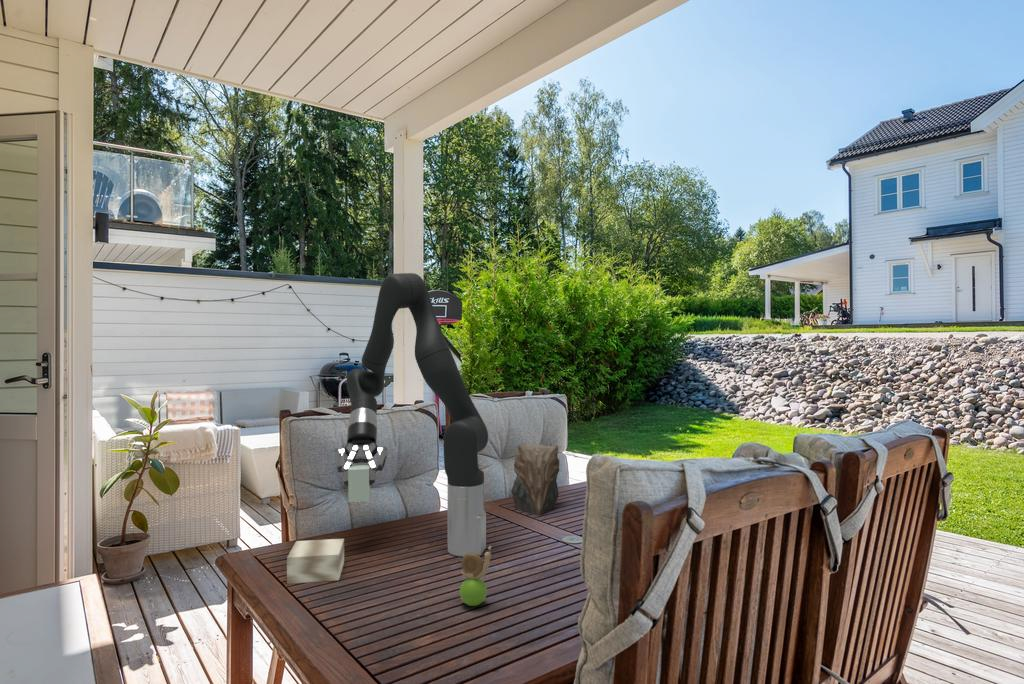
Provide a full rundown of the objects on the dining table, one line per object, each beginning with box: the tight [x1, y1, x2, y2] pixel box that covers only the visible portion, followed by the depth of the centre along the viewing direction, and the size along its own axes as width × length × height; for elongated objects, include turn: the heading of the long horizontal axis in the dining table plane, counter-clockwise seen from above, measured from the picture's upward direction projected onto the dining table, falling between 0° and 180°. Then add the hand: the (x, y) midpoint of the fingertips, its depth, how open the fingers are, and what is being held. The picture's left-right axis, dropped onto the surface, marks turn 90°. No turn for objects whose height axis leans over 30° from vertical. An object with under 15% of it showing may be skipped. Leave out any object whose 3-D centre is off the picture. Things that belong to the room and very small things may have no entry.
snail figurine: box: [459, 545, 492, 607], centre depth 121 cm, size 5×6×12 cm
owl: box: [510, 443, 560, 517], centre depth 191 cm, size 13×13×20 cm
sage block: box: [347, 464, 372, 503], centre depth 151 cm, size 5×5×8 cm
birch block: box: [286, 538, 345, 585], centre depth 138 cm, size 11×11×6 cm
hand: (359, 484), depth 149 cm, fingers closed on sage block, 5 cm apart
